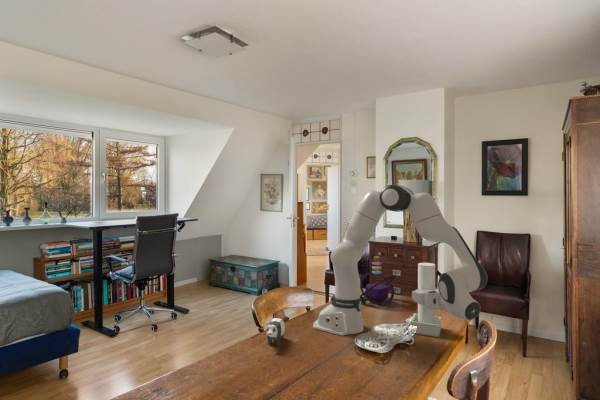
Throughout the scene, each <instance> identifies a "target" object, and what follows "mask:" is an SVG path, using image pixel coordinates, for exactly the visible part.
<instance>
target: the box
mask: <svg viewBox="0 0 600 400" xmlns="http://www.w3.org/2000/svg"><path fill="white" fill-rule="evenodd" d="M409 324H410V325H414V326H417V330H416V335H421V336H428V337H435V338H440V335H441V329H442V316H437V315H435V323H433V324H429V323H422V322H419V321H418V313H415V312H414V313H413V314H412V317H411V319H410V323H409ZM410 325H409V326H410Z"/></svg>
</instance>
